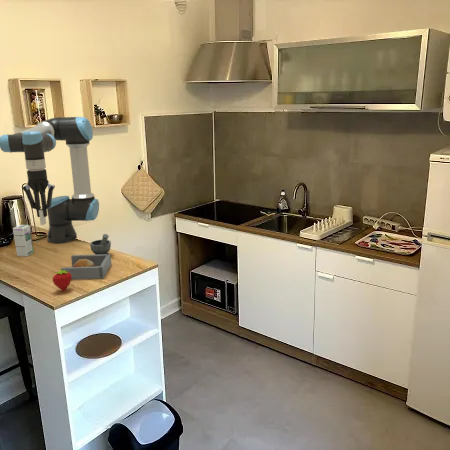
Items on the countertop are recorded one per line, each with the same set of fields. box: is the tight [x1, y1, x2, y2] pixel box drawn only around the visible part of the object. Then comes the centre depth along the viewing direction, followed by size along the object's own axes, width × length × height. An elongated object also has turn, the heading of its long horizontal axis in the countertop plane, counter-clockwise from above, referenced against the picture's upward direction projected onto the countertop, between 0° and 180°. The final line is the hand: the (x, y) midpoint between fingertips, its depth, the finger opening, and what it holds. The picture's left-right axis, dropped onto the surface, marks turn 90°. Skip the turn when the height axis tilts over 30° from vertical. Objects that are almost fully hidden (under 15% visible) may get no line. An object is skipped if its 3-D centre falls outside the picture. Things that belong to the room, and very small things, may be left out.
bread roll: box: [73, 259, 97, 267], centre depth 201 cm, size 10×10×8 cm
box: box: [60, 253, 112, 281], centre depth 202 cm, size 17×18×5 cm
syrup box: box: [12, 224, 35, 257], centre depth 224 cm, size 6×6×14 cm
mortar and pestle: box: [89, 233, 112, 255], centre depth 220 cm, size 11×9×12 cm
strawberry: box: [52, 269, 72, 292], centre depth 182 cm, size 6×8×10 cm
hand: (43, 224), depth 196 cm, fingers closed
